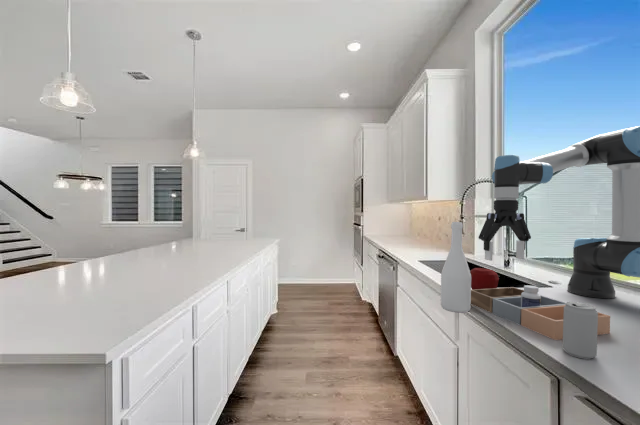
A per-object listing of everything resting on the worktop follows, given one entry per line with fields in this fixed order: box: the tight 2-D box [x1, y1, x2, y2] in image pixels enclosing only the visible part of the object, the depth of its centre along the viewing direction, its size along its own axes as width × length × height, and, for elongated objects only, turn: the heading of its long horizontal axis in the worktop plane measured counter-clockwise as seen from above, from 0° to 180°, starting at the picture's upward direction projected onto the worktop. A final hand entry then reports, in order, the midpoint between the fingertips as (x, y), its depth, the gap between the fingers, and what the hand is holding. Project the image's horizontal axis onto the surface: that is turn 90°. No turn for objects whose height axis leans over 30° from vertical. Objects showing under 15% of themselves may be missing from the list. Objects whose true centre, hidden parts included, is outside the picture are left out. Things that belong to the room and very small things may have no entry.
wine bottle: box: [440, 221, 472, 314], centre depth 110 cm, size 10×10×30 cm
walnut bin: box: [471, 286, 524, 314], centre depth 114 cm, size 20×11×5 cm, turn 105°
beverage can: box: [562, 301, 598, 360], centre depth 77 cm, size 6×6×12 cm
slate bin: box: [492, 294, 566, 326], centre depth 103 cm, size 20×11×5 cm, turn 105°
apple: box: [470, 266, 500, 290], centre depth 127 cm, size 11×11×12 cm
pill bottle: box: [521, 284, 541, 307], centre depth 103 cm, size 5×5×10 cm
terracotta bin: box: [520, 305, 611, 341], centre depth 92 cm, size 20×11×5 cm, turn 105°
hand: (504, 259), depth 113 cm, fingers open, 13 cm apart
